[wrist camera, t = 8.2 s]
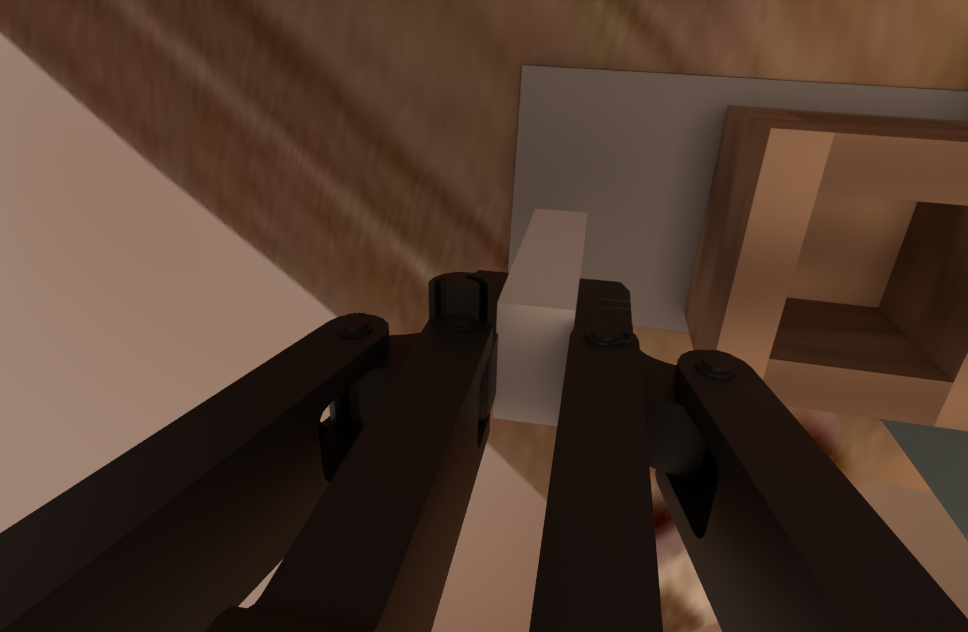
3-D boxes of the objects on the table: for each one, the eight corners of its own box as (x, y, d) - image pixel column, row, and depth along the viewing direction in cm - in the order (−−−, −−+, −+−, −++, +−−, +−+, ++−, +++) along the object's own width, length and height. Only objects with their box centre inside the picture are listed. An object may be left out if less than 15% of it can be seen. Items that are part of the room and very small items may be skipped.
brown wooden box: (728, 105, 23) (770, 128, 17) (983, 122, 22) (1134, 154, 15) (684, 313, 27) (705, 394, 21) (898, 338, 25) (990, 434, 19)
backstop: (528, -4, 23) (476, -33, 14) (1080, 18, 20) (1442, -1, 11) (503, 349, 30) (458, 477, 21) (913, 405, 27) (1059, 581, 18)
